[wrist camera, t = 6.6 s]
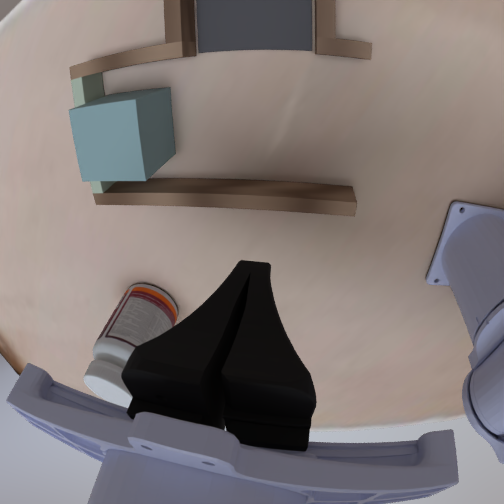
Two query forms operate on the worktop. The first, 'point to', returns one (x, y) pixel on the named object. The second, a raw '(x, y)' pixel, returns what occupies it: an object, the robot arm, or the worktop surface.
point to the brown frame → (226, 190)
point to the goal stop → (83, 93)
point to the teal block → (124, 135)
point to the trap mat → (254, 25)
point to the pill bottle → (127, 339)
